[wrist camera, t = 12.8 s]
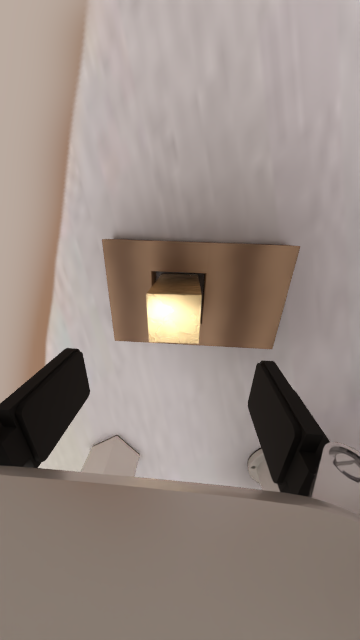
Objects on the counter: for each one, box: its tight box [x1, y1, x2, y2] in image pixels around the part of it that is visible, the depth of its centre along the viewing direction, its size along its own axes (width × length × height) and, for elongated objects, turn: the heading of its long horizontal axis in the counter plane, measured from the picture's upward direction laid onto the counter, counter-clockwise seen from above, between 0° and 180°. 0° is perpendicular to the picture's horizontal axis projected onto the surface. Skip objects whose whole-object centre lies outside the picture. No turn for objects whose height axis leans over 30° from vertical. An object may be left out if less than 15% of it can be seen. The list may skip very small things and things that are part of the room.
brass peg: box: [146, 274, 202, 344], centre depth 20 cm, size 4×4×9 cm
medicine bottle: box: [81, 436, 139, 477], centre depth 33 cm, size 7×7×12 cm
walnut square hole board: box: [102, 239, 300, 349], centre depth 23 cm, size 20×12×3 cm, turn 88°
